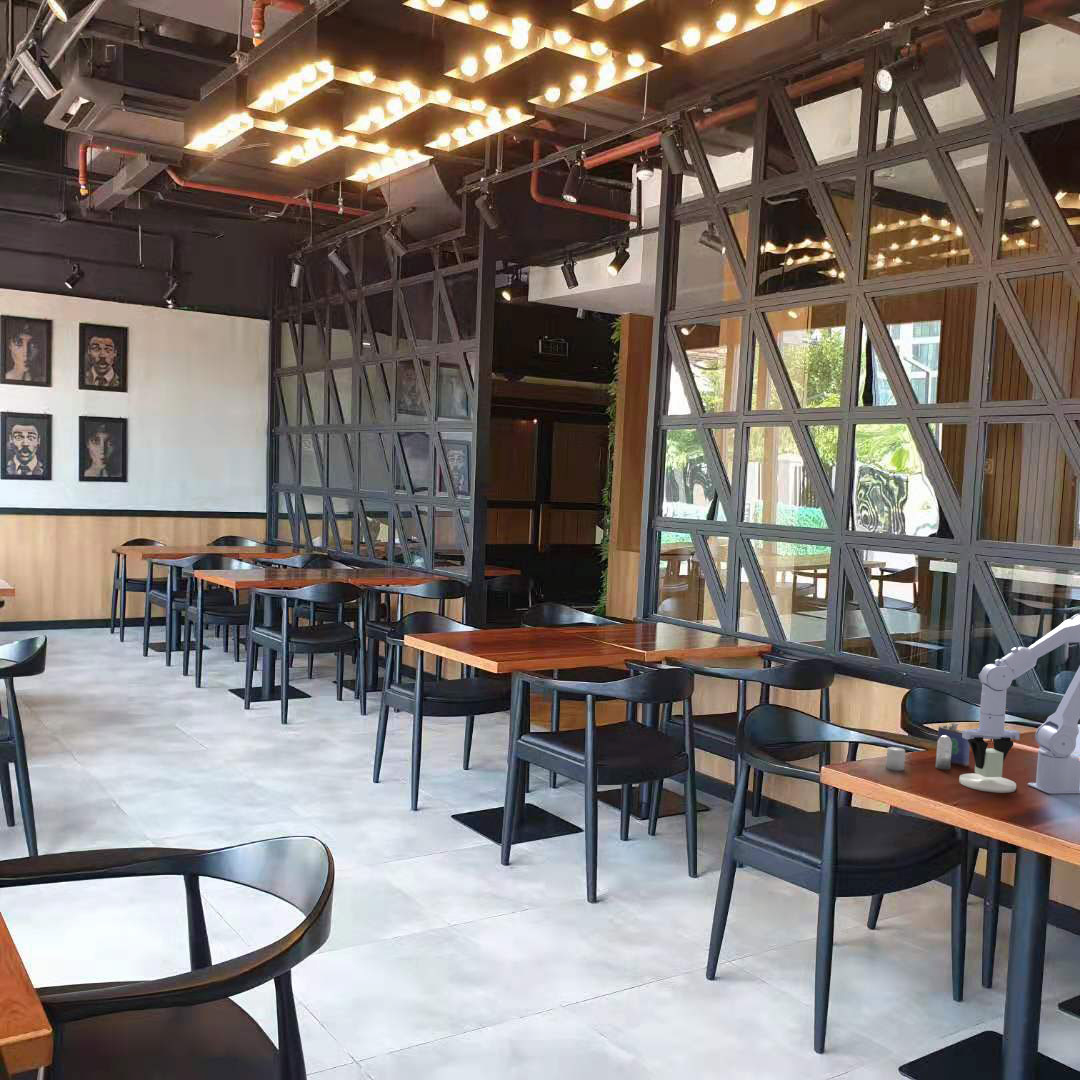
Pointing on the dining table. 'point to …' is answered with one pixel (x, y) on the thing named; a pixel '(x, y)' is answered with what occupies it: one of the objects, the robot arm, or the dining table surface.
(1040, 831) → the dining table surface
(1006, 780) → the plate
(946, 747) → the salt shaker
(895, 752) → the white rounded domed part
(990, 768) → the sage block
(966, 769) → the dining table surface
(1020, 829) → the dining table surface
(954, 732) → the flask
